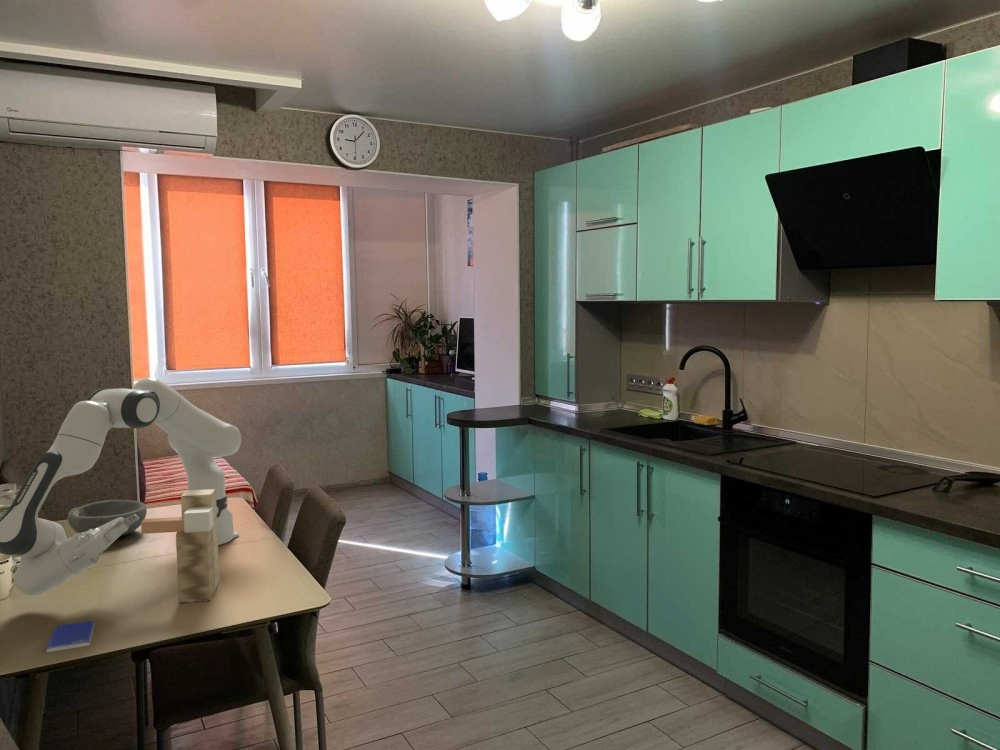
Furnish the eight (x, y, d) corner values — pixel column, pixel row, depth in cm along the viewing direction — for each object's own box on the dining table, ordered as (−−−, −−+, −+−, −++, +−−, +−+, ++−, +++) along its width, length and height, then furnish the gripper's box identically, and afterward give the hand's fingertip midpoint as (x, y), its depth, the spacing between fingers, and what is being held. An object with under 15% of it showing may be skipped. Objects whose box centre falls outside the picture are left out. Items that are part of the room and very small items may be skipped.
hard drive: (88, 640, 166) (94, 619, 177) (46, 647, 162) (54, 625, 174) (89, 647, 166) (94, 626, 177) (46, 654, 162) (55, 632, 174)
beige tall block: (178, 603, 189) (174, 502, 187) (190, 584, 202) (186, 490, 200) (210, 600, 191) (206, 501, 188) (219, 582, 203) (215, 489, 201)
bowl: (115, 549, 233) (113, 518, 232) (53, 545, 237) (51, 514, 236) (162, 528, 255) (161, 499, 254) (105, 524, 259) (103, 496, 259)
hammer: (213, 525, 195) (213, 506, 195) (209, 531, 190) (208, 512, 189) (146, 529, 192) (145, 510, 192) (140, 535, 187) (139, 515, 186)
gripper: (57, 554, 176) (111, 522, 178) (88, 529, 196) (136, 501, 198) (73, 575, 177) (126, 544, 179) (102, 549, 197) (149, 521, 199)
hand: (131, 521), depth 188 cm, fingers open, 8 cm apart
